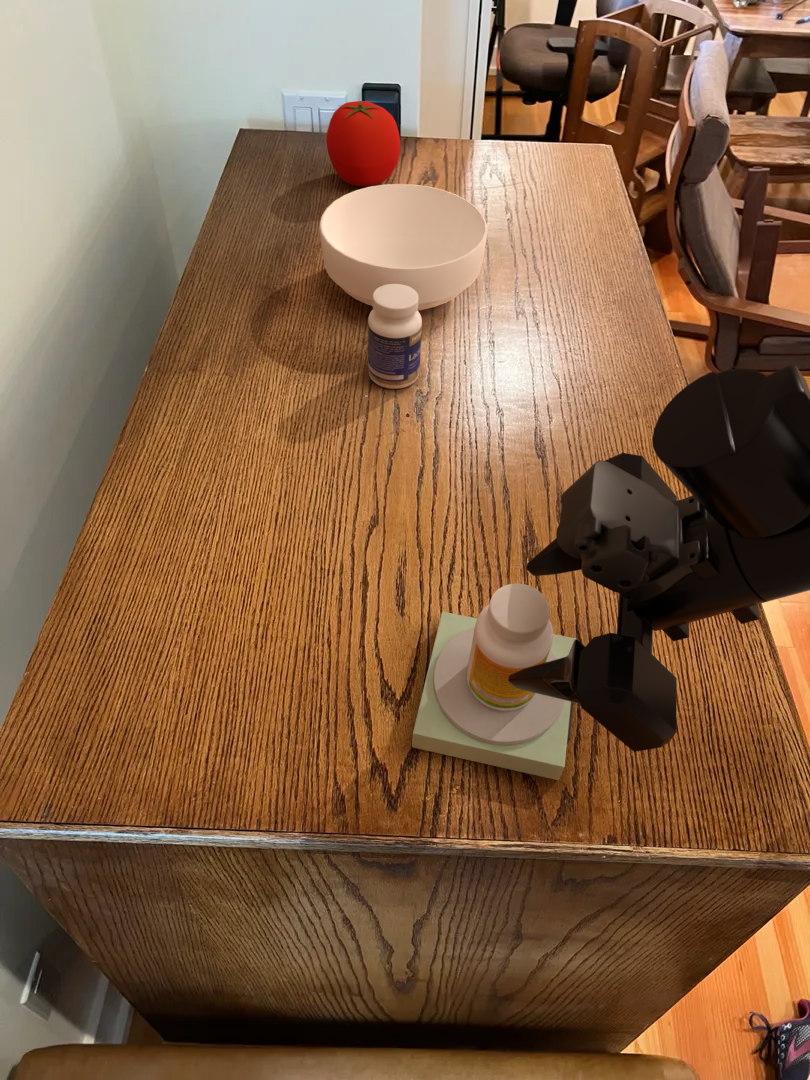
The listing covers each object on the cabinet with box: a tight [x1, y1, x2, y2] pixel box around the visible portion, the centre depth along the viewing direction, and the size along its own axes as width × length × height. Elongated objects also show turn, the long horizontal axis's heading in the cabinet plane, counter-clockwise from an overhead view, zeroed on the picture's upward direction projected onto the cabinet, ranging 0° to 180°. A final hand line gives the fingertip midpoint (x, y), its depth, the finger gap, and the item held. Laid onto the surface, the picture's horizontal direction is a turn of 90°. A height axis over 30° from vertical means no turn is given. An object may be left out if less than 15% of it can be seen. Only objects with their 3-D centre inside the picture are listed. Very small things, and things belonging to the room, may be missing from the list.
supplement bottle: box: [467, 583, 554, 711], centre depth 54 cm, size 5×5×10 cm
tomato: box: [325, 100, 401, 187], centre depth 110 cm, size 10×11×11 cm
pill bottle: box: [367, 284, 423, 390], centre depth 82 cm, size 6×6×10 cm
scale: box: [411, 611, 577, 781], centre depth 59 cm, size 11×11×3 cm
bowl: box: [319, 183, 488, 312], centre depth 93 cm, size 20×20×8 cm
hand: (521, 623), depth 52 cm, fingers open, 9 cm apart
